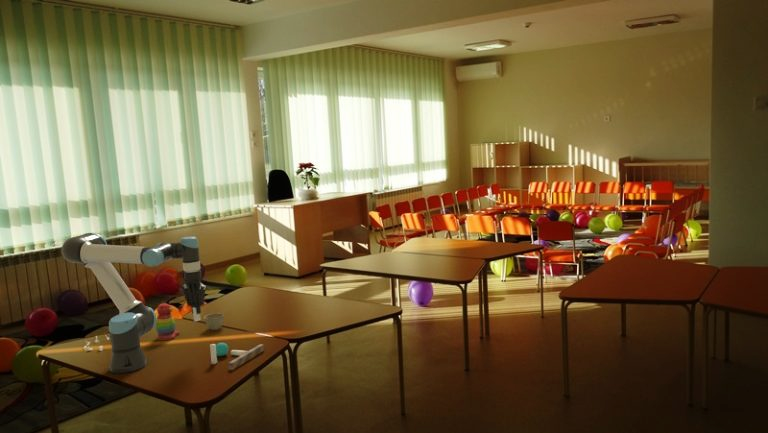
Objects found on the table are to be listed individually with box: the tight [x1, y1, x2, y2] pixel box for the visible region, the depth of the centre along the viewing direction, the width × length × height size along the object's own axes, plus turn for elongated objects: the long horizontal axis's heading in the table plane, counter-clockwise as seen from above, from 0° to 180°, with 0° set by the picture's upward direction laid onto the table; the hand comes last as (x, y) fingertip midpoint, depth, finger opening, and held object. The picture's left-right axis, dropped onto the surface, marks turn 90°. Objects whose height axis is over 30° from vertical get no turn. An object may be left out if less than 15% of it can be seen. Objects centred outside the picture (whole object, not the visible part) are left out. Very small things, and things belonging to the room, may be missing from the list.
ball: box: [215, 342, 229, 357], centre depth 268 cm, size 6×6×6 cm
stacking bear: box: [155, 302, 181, 341], centre depth 300 cm, size 11×10×18 cm
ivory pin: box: [230, 349, 249, 357], centre depth 267 cm, size 2×2×8 cm
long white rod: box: [227, 343, 265, 371], centre depth 260 cm, size 24×2×3 cm, turn 158°
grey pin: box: [209, 343, 218, 365], centre depth 258 cm, size 2×2×8 cm
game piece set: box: [82, 334, 110, 352], centre depth 295 cm, size 19×20×4 cm
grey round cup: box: [204, 312, 225, 331], centre depth 310 cm, size 10×10×7 cm
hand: (197, 320), depth 269 cm, fingers closed
